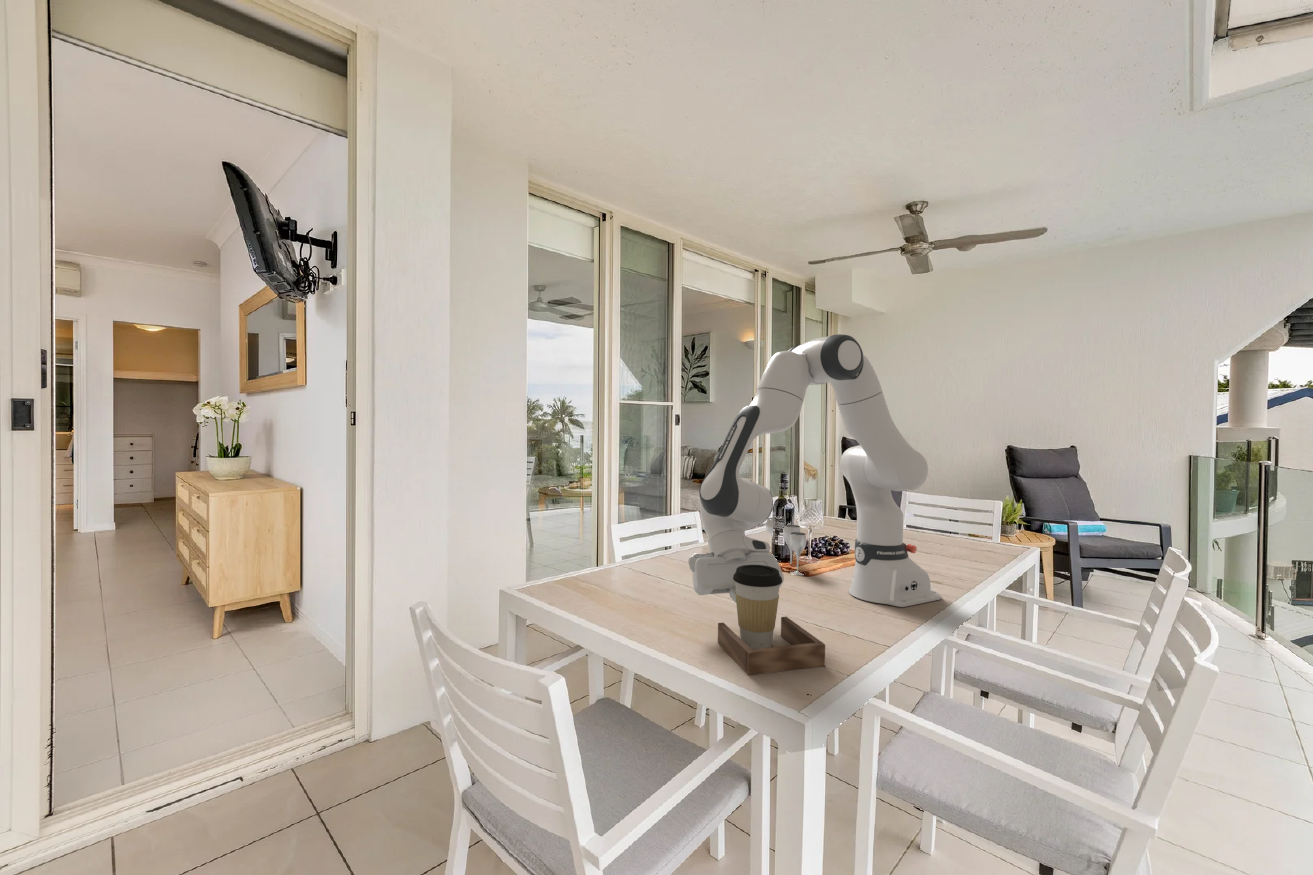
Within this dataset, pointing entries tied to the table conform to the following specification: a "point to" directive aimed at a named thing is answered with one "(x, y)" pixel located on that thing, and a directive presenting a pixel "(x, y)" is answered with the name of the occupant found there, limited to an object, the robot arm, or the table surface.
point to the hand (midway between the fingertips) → (747, 609)
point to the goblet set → (791, 540)
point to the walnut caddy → (775, 650)
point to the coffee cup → (757, 603)
